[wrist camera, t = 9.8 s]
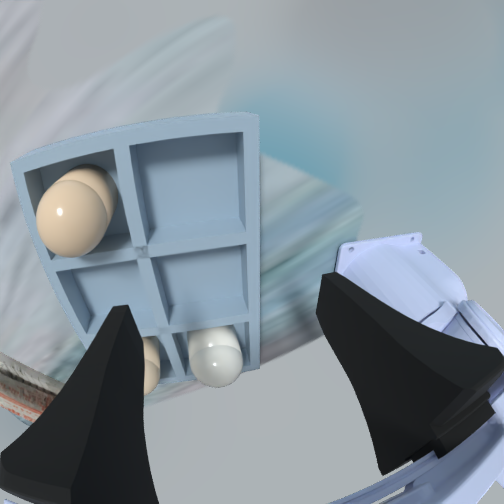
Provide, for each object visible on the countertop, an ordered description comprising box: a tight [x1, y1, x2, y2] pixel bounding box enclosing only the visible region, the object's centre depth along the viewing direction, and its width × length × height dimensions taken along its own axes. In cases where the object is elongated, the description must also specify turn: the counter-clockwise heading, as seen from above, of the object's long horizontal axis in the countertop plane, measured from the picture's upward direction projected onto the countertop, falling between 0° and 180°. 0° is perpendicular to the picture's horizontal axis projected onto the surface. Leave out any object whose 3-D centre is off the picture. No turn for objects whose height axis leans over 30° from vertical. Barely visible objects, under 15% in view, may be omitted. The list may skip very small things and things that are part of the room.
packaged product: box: [0, 352, 65, 423], centre depth 21 cm, size 18×5×10 cm
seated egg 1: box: [142, 335, 160, 396], centre depth 19 cm, size 4×4×5 cm
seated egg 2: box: [187, 324, 243, 388], centre depth 20 cm, size 4×4×5 cm
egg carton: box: [10, 112, 260, 384], centre depth 18 cm, size 14×20×3 cm
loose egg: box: [36, 164, 118, 258], centre depth 12 cm, size 4×4×5 cm
